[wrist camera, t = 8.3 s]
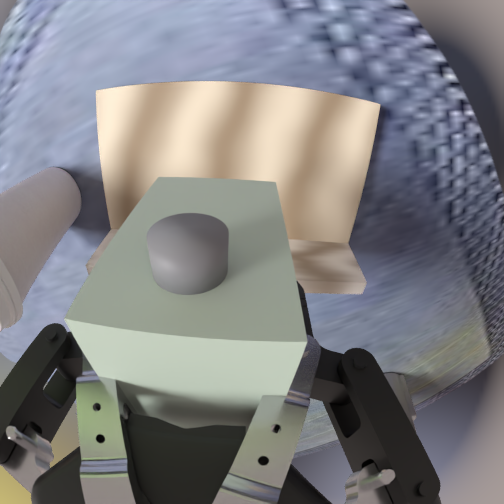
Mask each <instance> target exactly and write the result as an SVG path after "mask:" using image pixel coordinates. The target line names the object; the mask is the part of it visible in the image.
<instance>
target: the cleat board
mask: <svg viewBox="0 0 504 504" xmlns="http://www.w3.org/2000/svg"><path fill="white" fill-rule="evenodd" d="M96 108H97V127H98V141H99V152H100V161H101V170H102V177H103V185H104V192H105V198H106V204H107V210H108V216H109V221H110V226H111V230H110V231H109V233H108V234H107V236H106V237H105V238H104V240H103V241H102V242H101V244H100V245H99V247H98V248H97V249H96V251H95V252H94V254H93V255H92V257H91V258H90V260H89V261H88V263H87V264H86V268H87V271H88V274H90V272H91V271H92V269H93V268H94V266H95V264H96V263H97V261H98V260H99V258H100V257H101V255H102V254H103V252H104V251H105V249H106V248H107V246H108V245H109V243H110V242H111V240H112V239H113V237H114V236H115V234H116V233H117V231H118V230H119V229H120V227H121V226H122V224H123V223H124V221H125V220H126V219H127V217H128V216H129V215H130V213H131V212H132V211H133V209H134V208H135V206H136V205H137V204H138V202H139V201H140V200H141V199H142V197H143V196H144V195H145V193H146V192H147V191H148V190H149V188H150V187H151V186H152V184H153V183H154V182H155V181H156V179H157V178H158V177H194V178H221V179H240V180H256V181H269V182H276V185H277V190H278V194H279V199H280V203H281V208H282V212H283V217H284V222H285V226H286V231H287V236H288V241H289V246H290V250H291V255H292V260H293V265H294V271H295V276H296V281H298V282H299V284H300V285H301V286H302V287H303V289H304V293H329V294H362V293H363V291H364V288H365V286H366V283H367V282H366V280H365V278H364V276H363V273H362V271H361V269H360V267H359V265H358V263H357V261H356V259H355V256H354V254H353V252H352V250H351V248H350V246H349V244H348V242H349V239H350V236H351V232H352V229H353V225H354V221H355V218H356V214H357V210H358V207H359V203H360V199H361V195H362V191H363V187H364V183H365V179H366V174H367V170H368V166H369V161H370V157H371V152H372V147H373V142H374V137H375V132H376V127H377V122H378V116H379V110H380V104H377V103H374V102H370V101H366V100H362V99H357V98H353V97H349V96H344V95H339V94H334V93H329V92H323V91H317V90H311V89H305V88H298V87H290V86H282V85H272V84H261V83H247V82H226V81H184V82H163V83H150V84H139V85H130V86H122V87H115V88H108V89H102V90H96Z"/></svg>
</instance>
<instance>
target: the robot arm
mask: <svg viewBox="0 0 504 504" xmlns="http://www.w3.org/2000/svg"><path fill="white" fill-rule="evenodd" d="M297 286H298V291H299V297H300V302H301V308H302V313H303V319H304V325H305V330H306V336H307V344H306V347H305V350H304V353H303V355H302V358H301V360H300V363H299V366H298V368H297V371H296V373H295V376H294V378H293V381H292V383H291V386H290V388H289V391H288V393H287V395H286V396H275V395H262V398H261V400H260V403H259V405H258V407H257V410H256V412H255V415H254V417H253V419H252V422H251V424H250V426H249V429H248V431H247V432H246V426H231V425H210V426H203V427H196V428H182V427H179V426H176V425H174V424H171V423H169V422H166V421H164V420H161V419H159V418H156V417H150V416H144V415H139V414H138V413H137V412H136V410H135V409H134V407H133V406H132V404H131V403H130V401H129V400H128V398H127V397H126V395H125V394H124V392H123V391H122V389H121V388H120V386H119V385H118V383H117V381H116V380H115V379H111V378H106V377H100V376H98V375H97V374H96V372H95V371H94V369H93V368H92V366H91V364H90V363H89V361H88V360H87V358H86V356H85V355H84V353H83V352H82V350H81V348H80V346H79V345H78V343H77V341H76V340H75V338H74V336H73V334H72V332H67V331H66V329H65V328H64V326H62V325H61V324H58V323H54V324H50V325H48V326H46V327H45V328H43V330H42V331H41V332H40V333H39V334H38V336H37V337H36V338H35V339H34V341H33V342H32V343H31V345H30V346H29V347H28V349H27V350H26V351H25V353H24V354H23V355H22V357H21V358H20V359H19V361H18V362H17V363H16V365H15V366H14V368H13V369H12V371H11V372H10V373H9V375H8V376H7V378H6V379H5V381H4V382H3V384H2V385H1V387H0V465H1V466H3V467H4V468H5V470H6V471H8V472H9V474H11V475H12V476H13V477H14V478H15V479H16V480H17V481H18V482H19V483H20V484H21V485H22V486H23V487H25V488H26V489H27V490H28V491H29V492H30V493H31V500H32V504H332V503H331V502H330V501H328V500H327V499H326V498H325V497H324V496H323V495H322V494H321V493H320V492H319V491H318V490H317V489H315V487H314V486H312V484H311V483H309V482H308V480H306V478H304V477H303V475H302V474H300V472H299V471H298V470H297V469H296V468H295V467H294V466H293V465H292V464H291V461H292V458H293V456H294V453H295V450H296V447H297V444H298V441H299V437H300V434H301V431H302V428H303V425H304V421H305V418H306V415H307V411H308V408H309V404H310V399H309V398H312V399H316V400H320V401H323V404H324V406H325V408H326V411H327V413H328V415H329V417H330V420H331V422H332V424H333V427H334V429H335V431H336V434H337V436H338V438H339V441H340V443H341V445H342V448H343V450H344V452H345V455H346V457H347V459H348V462H349V464H350V466H351V469H352V471H353V474H351V475H350V476H349V478H348V479H347V481H346V484H345V491H346V502H345V504H441V501H440V497H439V495H438V494H439V491H440V480H439V478H438V476H437V474H436V472H435V469H434V467H433V465H432V463H431V461H430V459H429V457H428V455H427V453H426V451H425V449H424V447H423V445H422V443H421V441H420V440H419V438H418V436H417V434H416V430H415V426H414V423H413V420H414V419H415V418H416V412H415V409H414V406H413V402H412V399H411V396H410V393H409V390H408V387H407V384H406V381H405V378H404V375H398V374H396V373H385V374H384V373H383V372H382V370H381V368H380V367H379V365H378V363H377V361H376V360H375V358H374V357H373V355H372V354H371V353H370V352H368V351H366V350H364V349H361V348H352V349H349V350H348V351H346V352H345V353H344V354H341V353H337V352H333V351H330V350H327V349H325V348H323V347H321V346H320V345H319V343H318V341H317V340H316V339H315V338H314V337H313V333H312V328H311V323H310V318H309V313H308V308H307V303H306V300H305V299H306V298H305V293H304V289H303V287H302V286H301V285H300V284H299V282H298V281H297ZM56 368H57V370H56V372H55V373H54V375H53V376H52V378H51V379H50V381H49V382H48V384H47V385H46V387H45V389H44V390H43V387H44V385H45V384H46V382H47V381H48V379H49V378H50V376H51V375H52V373H53V372H54V370H55V369H56ZM75 400H76V403H77V420H78V433H79V443H80V446H79V447H78V448H77V449H75V450H74V451H73V452H71V453H70V454H69V455H67V456H66V457H65V458H63V459H62V460H61V461H59V462H58V463H57V464H55V465H54V466H53V467H51V468H50V466H49V465H50V462H51V461H52V460H53V458H54V455H53V453H52V448H51V445H50V443H51V441H52V440H53V438H54V436H55V434H56V432H57V430H58V429H59V427H60V425H61V423H62V422H63V420H64V418H65V416H66V415H67V413H68V411H69V410H70V408H71V406H72V404H73V403H74V401H75Z"/></svg>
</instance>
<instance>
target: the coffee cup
mask: <svg viewBox="0 0 504 504" xmlns="http://www.w3.org/2000/svg"><path fill="white" fill-rule="evenodd" d="M80 210H81V194H80V190H79V188H78V186H77V184H76V182H75V180H74V179H73V178H72V176H71V175H70V174H69V173H67V172H66V171H65V170H63V169H61V168H57V167H50V168H47V169H45V170H43V171H41V172H39V173H37V174H35V175H33V176H31V177H29V178H27V179H25V180H24V181H22V182H20V183H18V184H16V185H15V186H13V187H11V188H9V189H8V190H6V191H4V192H3V193H1V194H0V332H1V331H2V330H3V329H4V328H9V327H11V326H12V325H14V324H15V323H16V322H17V321H19V320H20V319H21V317H22V313H23V306H22V303H23V301H24V299H25V297H26V295H27V293H28V292H29V290H30V288H31V286H32V284H33V283H34V281H35V279H36V278H37V276H38V274H39V273H40V271H41V269H42V268H43V266H44V264H45V263H46V261H47V260H48V258H49V257H50V255H51V254H52V252H53V251H54V249H55V248H56V246H57V245H58V243H59V242H60V240H61V239H62V237H63V236H64V234H65V233H66V232H67V230H68V229H69V228H70V226H71V225H72V223H73V222H74V221H75V219H76V218H77V217H78V215H79V213H80Z"/></svg>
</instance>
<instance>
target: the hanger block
mask: <svg viewBox="0 0 504 504" xmlns="http://www.w3.org/2000/svg"><path fill="white" fill-rule="evenodd" d="M64 319H65V321H66V323H67V325H68V327H69V329H70V331H71V332H72V334H73V336H74V338H75V340H76V341H77V343H78V345H79V346H80V348H81V350H82V352H83V353H84V355H85V356H86V358H87V360H88V361H89V363H90V364H91V366H92V368H93V369H94V371H95V372H96V374H97V375H98V376H100V377H106V378H111V379H115V380H116V381H117V383H118V385H119V386H120V388H121V389H122V391H123V392H124V394H125V395H126V397H127V398H128V400H129V401H130V403H131V404H132V406H133V407H134V409H135V410H136V412H137V413H138V414H139V415H144V416H150V417H156V418H159V419H161V420H164V421H166V422H169V423H171V424H174V425H176V426H179V427H182V428H196V427H203V426H210V425H231V426H246V432H247V431H248V429H249V426H250V424H251V422H252V419H253V417H254V415H255V412H256V410H257V407H258V405H259V403H260V400H261V398H262V395H275V396H286V395H287V393H288V391H289V388H290V386H291V383H292V381H293V378H294V376H295V373H296V371H297V368H298V366H299V363H300V360H301V358H302V355H303V353H304V350H305V347H306V344H307V336H306V330H305V325H304V319H303V313H302V308H301V302H300V297H299V291H298V286H297V281H296V276H295V271H294V265H293V260H292V255H291V250H290V246H289V241H288V236H287V231H286V226H285V222H284V217H283V212H282V208H281V203H280V199H279V194H278V190H277V185H276V182H269V181H256V180H240V179H221V178H194V177H158V178H157V179H156V181H155V182H154V183H153V184H152V186H151V187H150V188H149V190H148V191H147V192H146V193H145V195H144V196H143V197H142V199H141V200H140V201H139V202H138V204H137V205H136V206H135V208H134V209H133V211H132V212H131V213H130V215H129V216H128V217H127V219H126V220H125V221H124V223H123V224H122V226H121V227H120V229H119V230H118V231H117V233H116V234H115V236H114V237H113V239H112V240H111V242H110V243H109V245H108V246H107V248H106V249H105V251H104V252H103V254H102V255H101V257H100V258H99V260H98V261H97V263H96V264H95V266H94V268H93V269H92V271H91V272H90V274H89V276H88V277H87V279H86V281H85V282H84V284H83V286H82V287H81V289H80V291H79V293H78V294H77V296H76V298H75V299H74V301H73V303H72V305H71V307H70V308H69V310H68V312H67V314H66V316H65V318H64Z"/></svg>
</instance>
